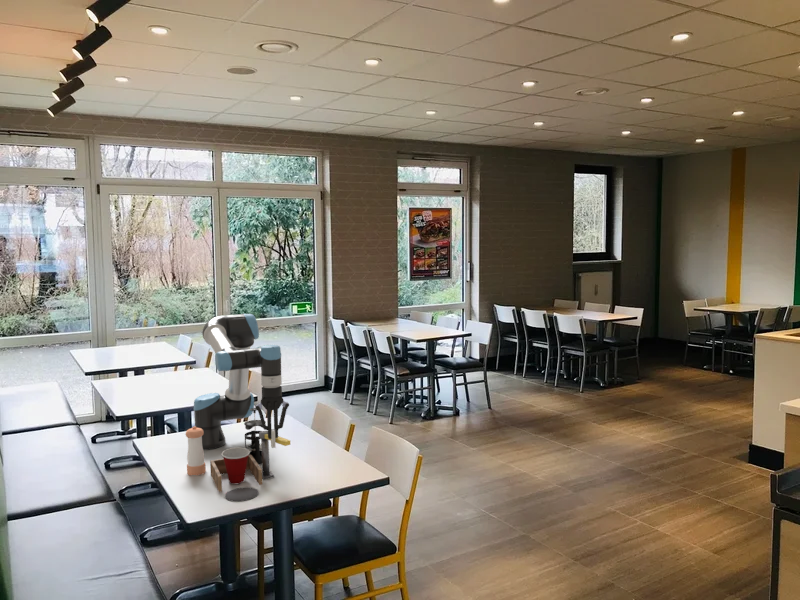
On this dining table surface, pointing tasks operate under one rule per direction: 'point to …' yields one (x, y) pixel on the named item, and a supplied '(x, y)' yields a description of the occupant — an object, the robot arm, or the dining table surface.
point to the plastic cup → (236, 464)
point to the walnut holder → (220, 468)
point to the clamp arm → (278, 440)
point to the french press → (254, 438)
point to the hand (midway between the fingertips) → (273, 446)
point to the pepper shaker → (195, 452)
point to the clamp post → (265, 460)
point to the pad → (241, 494)
